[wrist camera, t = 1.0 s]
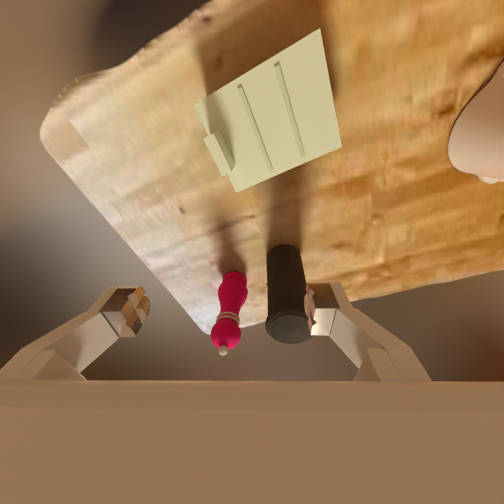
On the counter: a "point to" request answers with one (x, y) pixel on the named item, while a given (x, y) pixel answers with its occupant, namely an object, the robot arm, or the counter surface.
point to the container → (286, 296)
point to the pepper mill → (229, 311)
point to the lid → (272, 115)
